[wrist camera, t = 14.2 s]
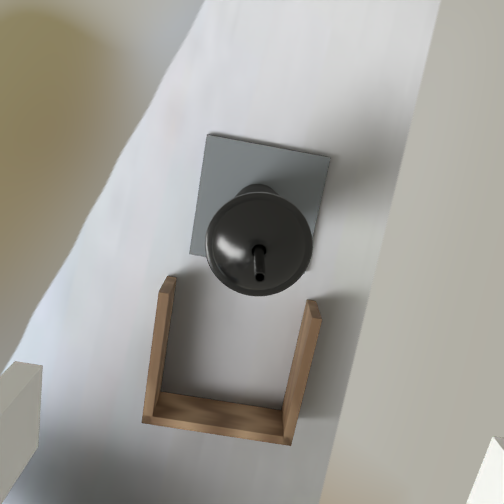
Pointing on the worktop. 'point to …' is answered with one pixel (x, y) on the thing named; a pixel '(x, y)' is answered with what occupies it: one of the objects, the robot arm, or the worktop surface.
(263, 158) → the mat
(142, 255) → the worktop surface
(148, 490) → the worktop surface
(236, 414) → the open wooden frame
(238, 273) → the drinking cup
